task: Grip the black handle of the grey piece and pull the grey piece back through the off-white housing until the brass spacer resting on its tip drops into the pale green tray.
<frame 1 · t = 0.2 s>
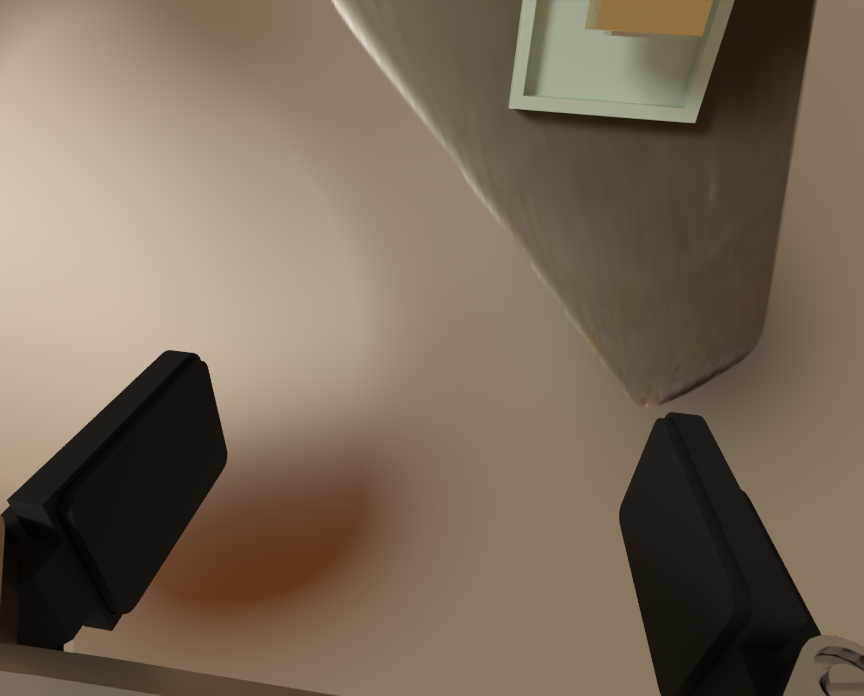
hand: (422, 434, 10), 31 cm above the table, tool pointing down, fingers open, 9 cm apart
tray: (610, 43, 32), on the table
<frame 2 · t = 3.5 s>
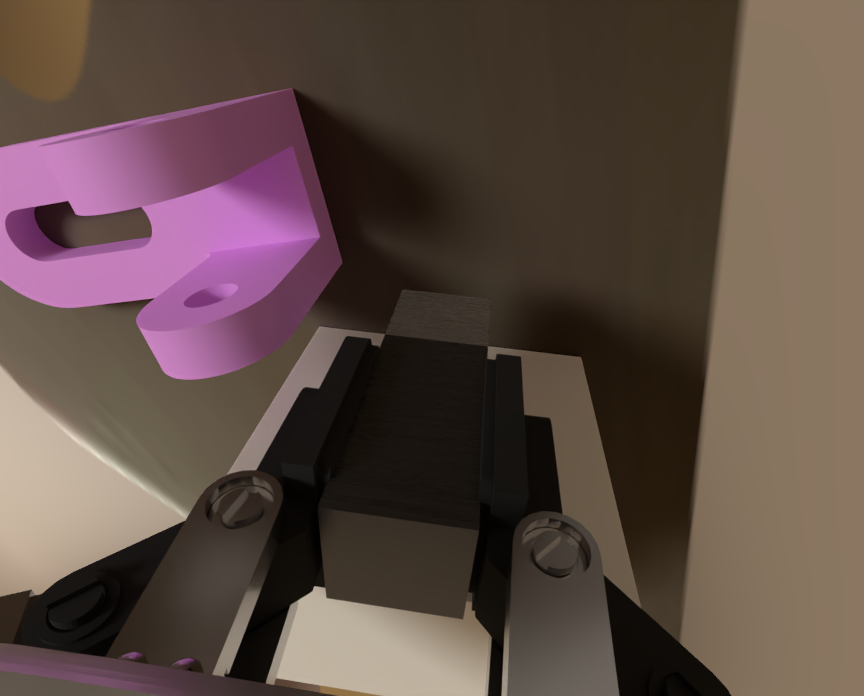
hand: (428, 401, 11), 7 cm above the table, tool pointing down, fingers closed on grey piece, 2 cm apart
grey piece: (415, 557, 14), point 8 cm above the table, slide at 0.0 cm, touching gripper, spacer
bracket: (153, 207, 18), on the table
spacer: (420, 570, 18), point 5 cm above the table, touching grey piece
housing: (443, 393, 20), on the table
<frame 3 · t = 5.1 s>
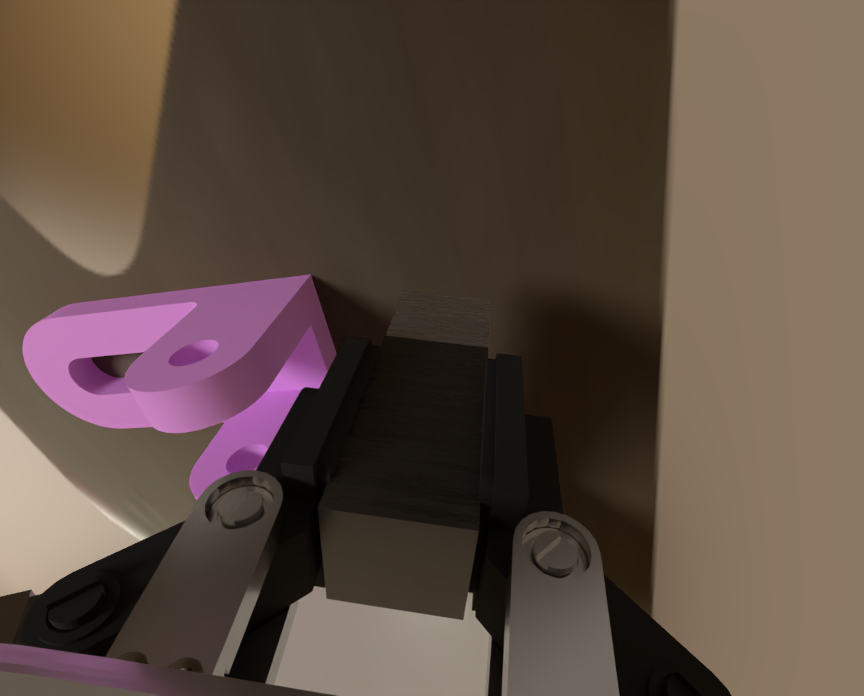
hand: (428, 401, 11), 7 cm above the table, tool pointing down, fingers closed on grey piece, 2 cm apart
grey piece: (416, 558, 14), point 7 cm above the table, slide at 6.0 cm, touching gripper
bracket: (190, 348, 21), on the table
housing: (434, 493, 23), on the table
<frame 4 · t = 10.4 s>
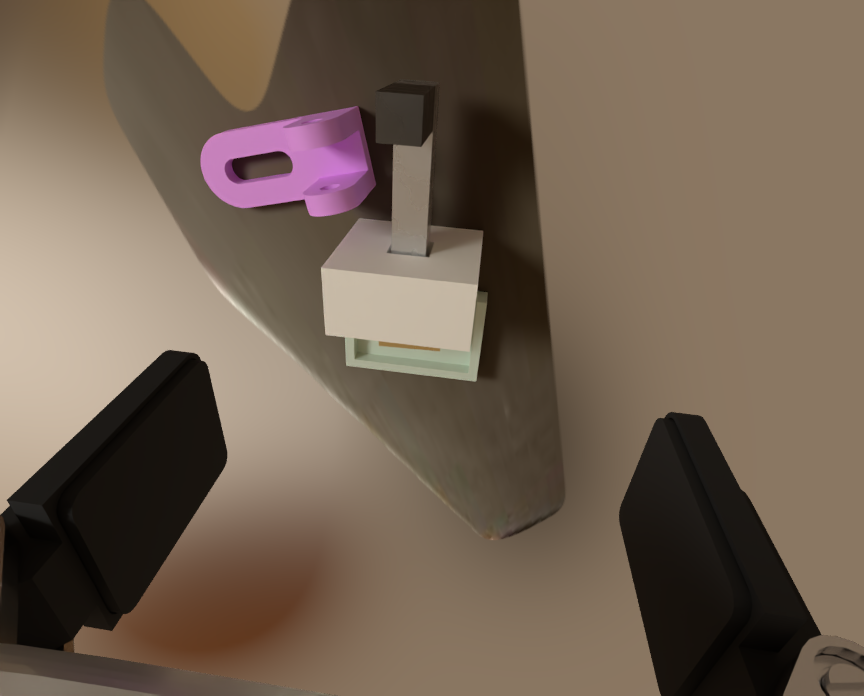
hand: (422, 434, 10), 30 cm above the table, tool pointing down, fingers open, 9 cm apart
grey piece: (407, 201, 31), point 7 cm above the table, slide at 6.5 cm
bracket: (288, 159, 38), on the table
tray: (415, 324, 44), on the table
housing: (419, 253, 41), on the table
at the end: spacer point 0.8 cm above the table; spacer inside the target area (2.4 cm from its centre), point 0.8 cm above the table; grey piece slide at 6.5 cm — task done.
